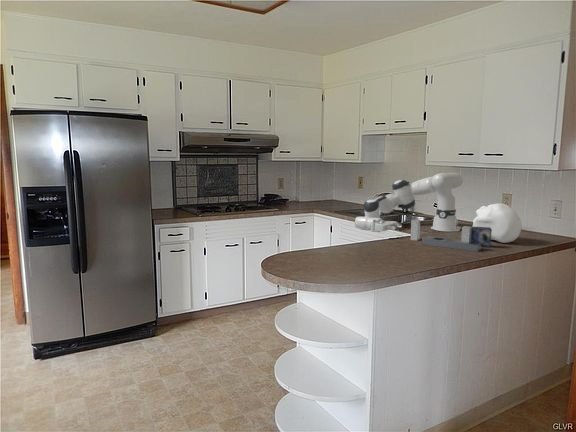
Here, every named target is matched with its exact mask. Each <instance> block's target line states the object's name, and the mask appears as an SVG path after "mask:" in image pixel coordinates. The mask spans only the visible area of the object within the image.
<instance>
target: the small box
mask: <svg viewBox="0 0 576 432" xmlns="http://www.w3.org/2000/svg"><path fill="white" fill-rule="evenodd" d="M469 227H472V234H471V242H478V243H482V244H481V248H491V241H492V240H491V232H492V229H491V228H490V227H473V225H472V226H469Z"/></svg>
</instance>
